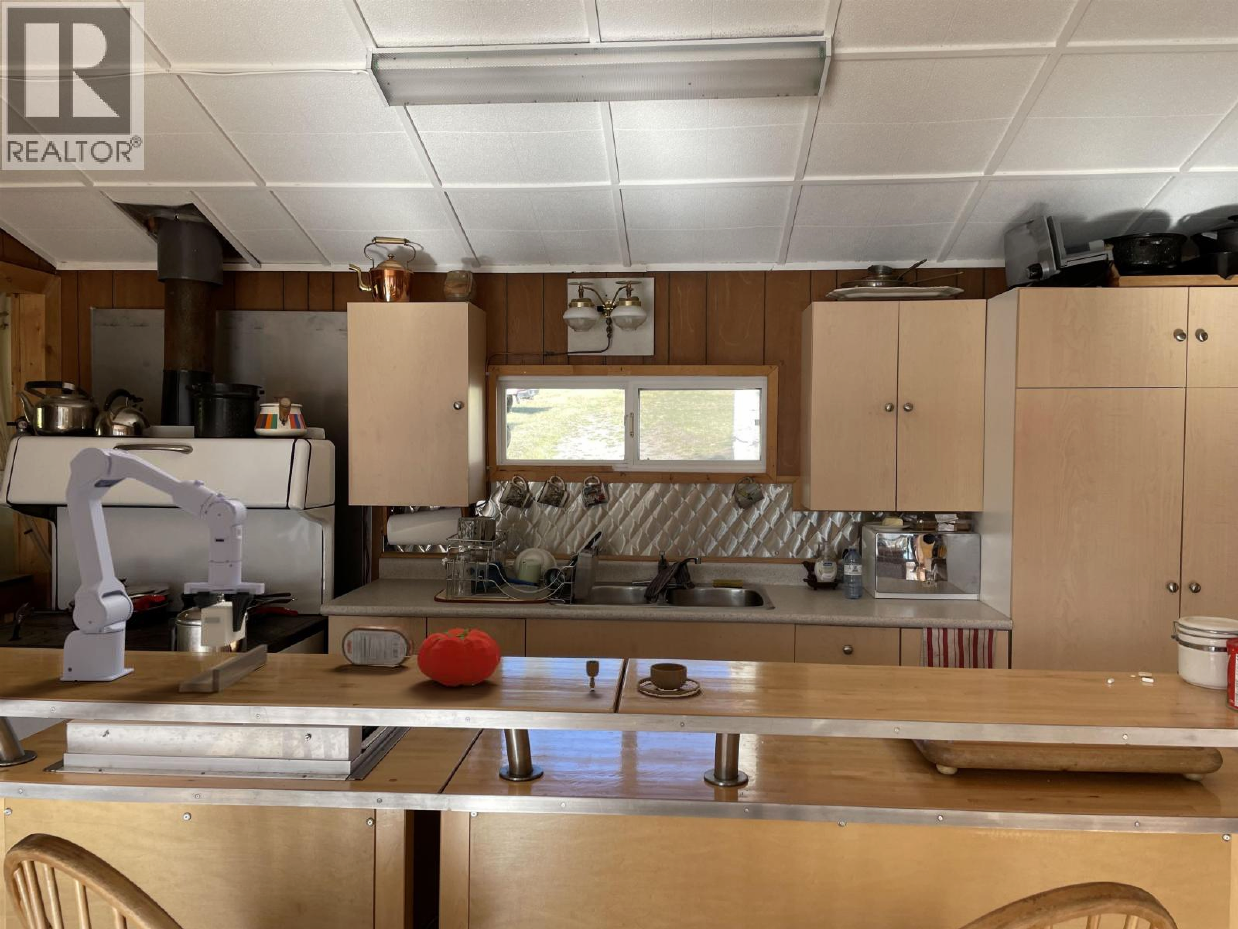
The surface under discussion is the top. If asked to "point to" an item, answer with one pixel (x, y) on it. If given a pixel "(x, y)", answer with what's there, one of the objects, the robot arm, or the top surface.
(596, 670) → the place setting
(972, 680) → the top surface
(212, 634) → the cabinet block
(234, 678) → the ledge board
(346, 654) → the tin
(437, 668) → the tomato
